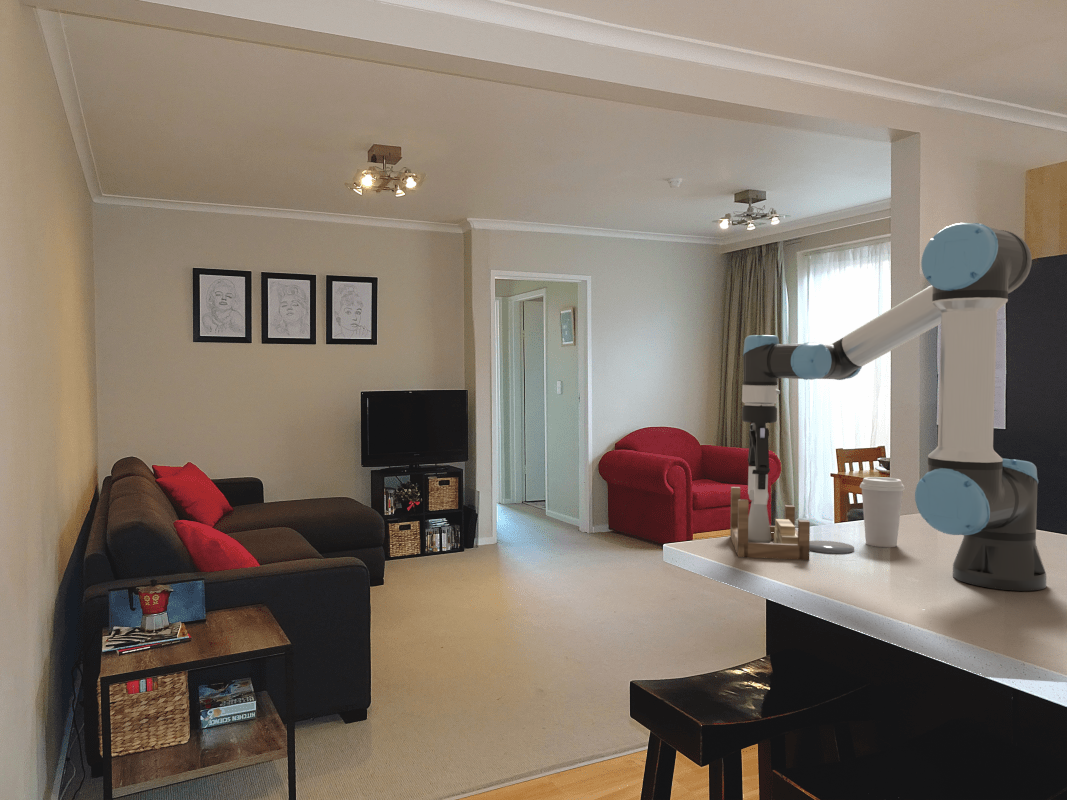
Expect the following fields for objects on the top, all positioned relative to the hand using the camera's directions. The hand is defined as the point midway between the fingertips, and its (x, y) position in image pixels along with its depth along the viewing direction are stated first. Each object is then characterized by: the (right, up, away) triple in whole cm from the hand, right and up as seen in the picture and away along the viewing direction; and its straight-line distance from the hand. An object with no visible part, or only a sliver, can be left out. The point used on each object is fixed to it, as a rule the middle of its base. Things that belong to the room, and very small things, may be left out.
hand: (757, 499), depth 176 cm
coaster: (+16, -11, -1) cm, 19 cm away
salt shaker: (0, -11, 0) cm, 11 cm away
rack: (+2, -11, 0) cm, 11 cm away
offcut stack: (+6, -11, -1) cm, 12 cm away
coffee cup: (+30, -11, +4) cm, 32 cm away
